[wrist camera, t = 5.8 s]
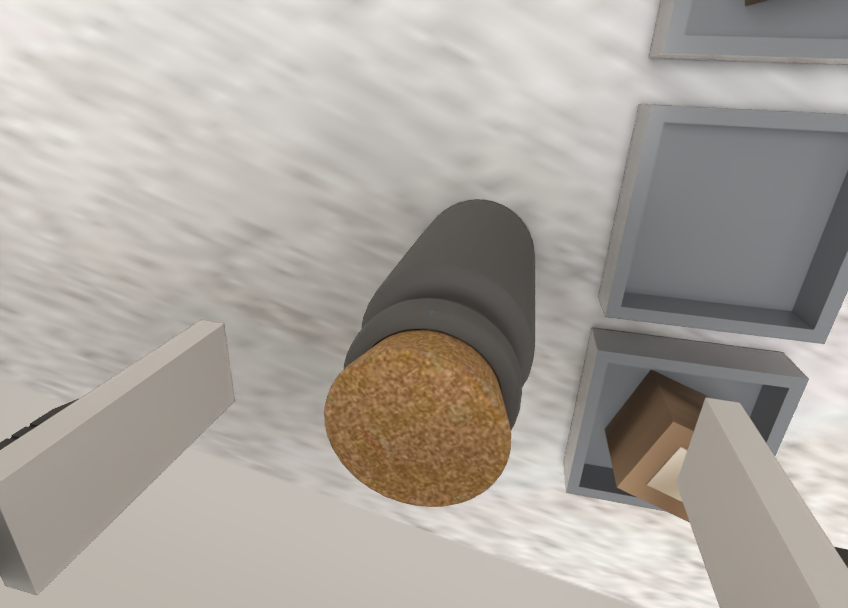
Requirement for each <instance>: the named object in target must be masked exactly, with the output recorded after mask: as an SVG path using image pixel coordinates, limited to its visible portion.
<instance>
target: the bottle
mask: <svg viewBox="0 0 848 608" xmlns="http://www.w3.org/2000/svg"><path fill="white" fill-rule="evenodd" d="M534 349H535V255H534V247H533V242H532V238H531V236H530V233H529V231H528V229H527V227H526V225H525V224H524V223H523V221H522V220H521V219H520V218H519V217H518V216H517V215H516V214H515V213H514V212H512V211H511V210H510V209H508V208H507V207H505V206H503V205H501V204H498V203H495V202H492V201H487V200H469V201H464V202H460V203H457V204H455V205H453V206H451V207H449V208H448V209H446V210H445V211H443V212H442V213H441V214H440V215H439V216H438V217H437V218H436V219H435V220H434V221H433V222H432V223H431V224H430V225H429V227H428V228H427V229H426V230H425V231H424V232H423V234H422V235H421V236H420V237H419V239H418V240H417V241H416V242H415V244H414V245H413V246H412V247H411V249H410V250H409V251H408V252H407V253H406V255H405V256H404V257H403V258H402V260H401V261H400V262H399V263H398V265H397V266H396V267H395V268H394V270H393V271H392V272H391V273H390V274H389V276H388V277H387V278H386V280H385V281H384V282H383V283H382V285H381V286H380V287H379V289H378V290H377V292H376V293H375V295H374V296H373V298H372V299H371V301H370V302H369V305H368V307H367V310H366V312H365V315H364V317H363V322H362V330H361V331H360V332H359V333H358V335H357V336H356V338H355V339H354V341H353V343H352V344H351V346H350V349H349V351H348V353H347V355H346V359H345V363H344V370H343V371H342V372H341V373H340V374H339V375H338V376H337V378H336V379H335V381H334V383H333V384H332V386H331V387H330V390H329V393H328V396H327V399H326V404H325V411H324V415H325V427H326V431H327V435H328V438H329V441H330V443H331V446H332V448H333V450H334V451H335V453H336V454H337V456H338V458H339V459H340V461H341V462H342V464H343V465H344V466H345V467H346V468H347V469H348V470H349V472H350V473H351V474H353V475H354V476H355V477H356V478H357V479H358V480H359V481H361V482H362V483H363V484H365V485H366V486H368V487H369V488H370V489H372V490H374V491H376V492H378V493H380V494H382V495H383V496H385V497H388V498H391V499H394V500H396V501H399V502H402V503H406V504H411V505H416V506H425V507H442V506H448V505H453V504H458V503H462V502H465V501H468V500H470V499H472V498H474V497H476V496H478V495H480V494H481V493H483V492H484V491H486V490H487V489H488V488H489V487H490V486H491V485H492V484H493V483H494V482H495V481H496V480H497V479H498V478H499V476H500V475H501V474H502V472H503V470H504V468H505V466H506V464H507V461H508V458H509V454H510V450H511V429H512V428H513V426H514V424H515V422H516V419H517V416H518V413H519V410H520V403H521V395H522V387H523V385H524V383H525V382H526V380H527V378H528V376H529V374H530V370H531V366H532V362H533V357H534Z"/></svg>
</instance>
